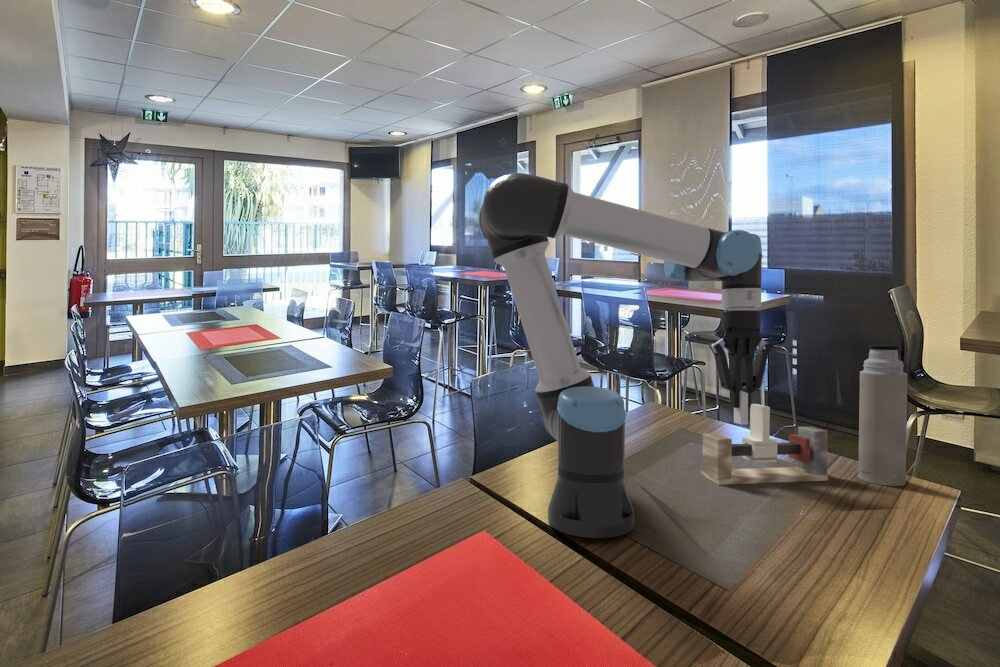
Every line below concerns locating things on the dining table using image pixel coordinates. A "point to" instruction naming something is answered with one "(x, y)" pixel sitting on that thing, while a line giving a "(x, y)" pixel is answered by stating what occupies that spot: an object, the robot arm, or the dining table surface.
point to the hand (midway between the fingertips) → (740, 423)
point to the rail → (801, 447)
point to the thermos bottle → (883, 418)
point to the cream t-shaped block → (760, 436)
